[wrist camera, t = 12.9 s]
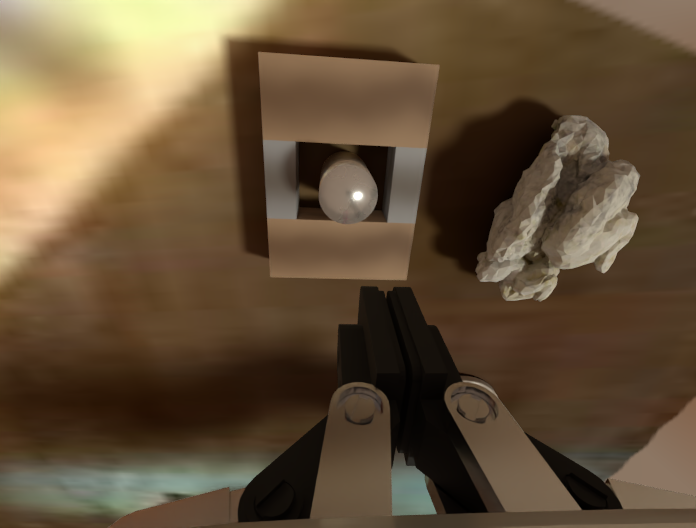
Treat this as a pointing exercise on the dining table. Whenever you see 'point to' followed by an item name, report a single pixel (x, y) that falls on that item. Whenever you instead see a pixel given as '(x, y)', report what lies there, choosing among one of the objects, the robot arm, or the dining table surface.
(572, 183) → the mineral
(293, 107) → the frame
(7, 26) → the dining table surface
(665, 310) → the dining table surface
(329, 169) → the white glossy cylinder
